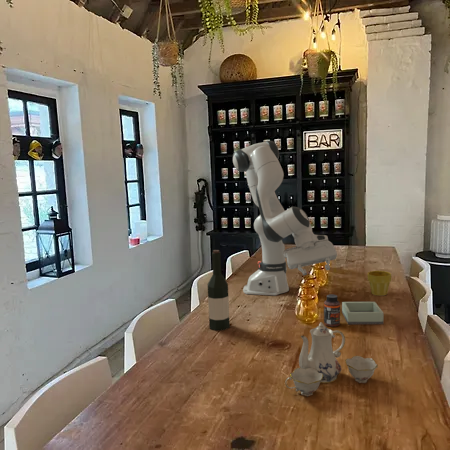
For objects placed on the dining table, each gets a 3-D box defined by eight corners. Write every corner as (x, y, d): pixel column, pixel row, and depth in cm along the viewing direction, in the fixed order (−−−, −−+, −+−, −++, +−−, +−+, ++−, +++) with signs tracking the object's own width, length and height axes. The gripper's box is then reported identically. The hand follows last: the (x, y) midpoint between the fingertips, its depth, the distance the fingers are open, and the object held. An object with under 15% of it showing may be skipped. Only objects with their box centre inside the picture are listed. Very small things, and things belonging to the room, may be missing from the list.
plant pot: (366, 296, 194) (367, 275, 193) (367, 289, 204) (367, 270, 202) (391, 298, 191) (391, 276, 189) (390, 291, 200) (391, 271, 199)
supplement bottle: (331, 328, 158) (331, 299, 157) (320, 323, 164) (320, 295, 162) (343, 325, 161) (343, 296, 160) (332, 320, 166) (332, 292, 165)
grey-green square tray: (348, 324, 162) (348, 312, 161) (342, 312, 175) (342, 302, 174) (383, 324, 161) (383, 312, 160) (374, 312, 173) (374, 301, 173)
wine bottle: (233, 323, 167) (230, 248, 163) (226, 331, 160) (222, 253, 155) (213, 321, 170) (209, 248, 166) (205, 329, 162) (201, 252, 158)
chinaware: (302, 413, 109) (305, 354, 105) (269, 378, 123) (270, 325, 120) (385, 386, 120) (391, 332, 116) (346, 357, 135) (349, 308, 131)
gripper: (282, 245, 175) (290, 273, 166) (330, 234, 175) (342, 261, 166) (282, 254, 180) (291, 281, 171) (330, 243, 180) (341, 270, 171)
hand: (316, 271), depth 169 cm, fingers open, 8 cm apart
